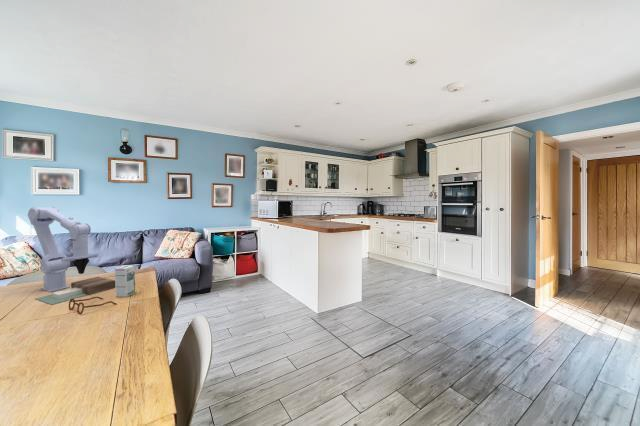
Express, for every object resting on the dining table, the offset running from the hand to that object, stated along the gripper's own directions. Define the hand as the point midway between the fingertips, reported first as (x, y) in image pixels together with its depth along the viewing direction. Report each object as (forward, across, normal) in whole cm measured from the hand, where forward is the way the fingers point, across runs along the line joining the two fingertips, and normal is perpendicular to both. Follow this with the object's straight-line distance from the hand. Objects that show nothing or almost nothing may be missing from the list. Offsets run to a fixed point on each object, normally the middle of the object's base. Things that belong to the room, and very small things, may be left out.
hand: (81, 273), depth 133 cm
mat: (+9, -8, -2) cm, 13 cm away
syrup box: (+10, +7, -25) cm, 28 cm away
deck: (+9, +4, -1) cm, 11 cm away
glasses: (+10, -8, -28) cm, 30 cm away
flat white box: (+9, -6, -1) cm, 11 cm away
